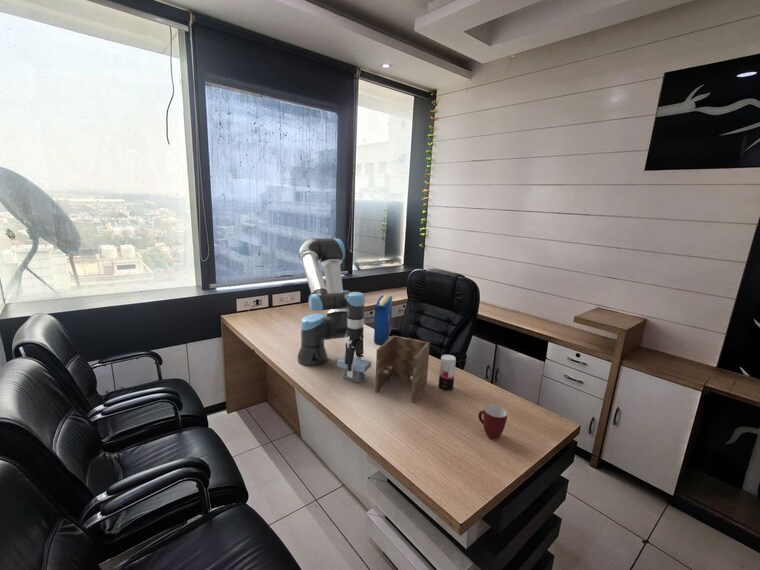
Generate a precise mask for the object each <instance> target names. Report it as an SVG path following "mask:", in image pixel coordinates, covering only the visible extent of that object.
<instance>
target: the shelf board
mask: <svg viewBox="0 0 760 570" xmlns="http://www.w3.org/2000/svg"><path fill="white" fill-rule="evenodd" d="M336 363H337V364H336V366H337V367H339V368H343V369H344V368H347V364H345V355H343V356H342V357H341V358H339V359H338V360H337V361H336ZM352 364H353V370H355V371H359V372H363V373H364V374H365V373H366V372H367V371H368V370H369V369H371V367H372V360H371V361H370V360H366V359H362V358H361V359H357V358H355V357H354V358H353V363H352Z"/></svg>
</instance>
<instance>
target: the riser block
mask: <svg viewBox="0 0 760 570" xmlns="http://www.w3.org/2000/svg"><path fill="white" fill-rule="evenodd" d="M364 378H365V373H363V372H359V371H355V370H353V378H351V377H347V368H343V379H344V380H347V381H352V382H355V383H360V382H361V381H362V380H364Z"/></svg>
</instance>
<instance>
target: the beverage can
mask: <svg viewBox="0 0 760 570" xmlns="http://www.w3.org/2000/svg"><path fill="white" fill-rule="evenodd" d="M456 362H457V359H456V357H455V356H454V355H452V354H442V355H441V357H440V365H439V378H438V388H439V390H441V391H443V392H452V391H453V390H454V384H455V383H454V382H455V372H456Z"/></svg>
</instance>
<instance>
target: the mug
mask: <svg viewBox="0 0 760 570" xmlns="http://www.w3.org/2000/svg"><path fill="white" fill-rule="evenodd" d="M477 416H478V421H479V422H480V423H481V424H482V425H483V429H484V432H485V435H486V436H487V437H488V438H489V439H492V440H497V439H499V438H500V436H502V434H503V431H504V429H505V426H506V423H507V420H508V412H507V410H506V409H505V408H504V407H501V406H500V405H496V404H495V405H494V404H488V405H485V406H484V407H483V410H480V411H479V413H478V415H477Z"/></svg>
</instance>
